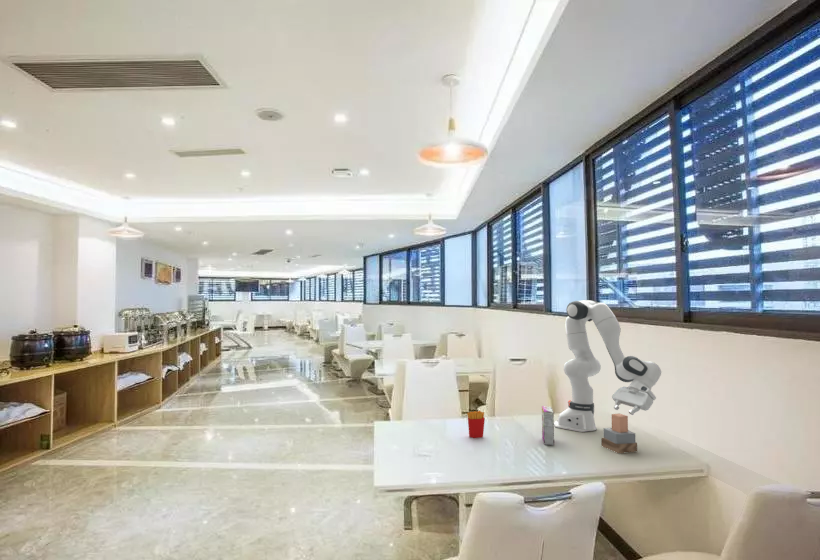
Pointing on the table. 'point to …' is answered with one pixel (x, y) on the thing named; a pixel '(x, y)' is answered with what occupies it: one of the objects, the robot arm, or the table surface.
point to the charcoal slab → (619, 436)
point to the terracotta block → (620, 423)
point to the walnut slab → (619, 446)
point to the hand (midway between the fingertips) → (622, 411)
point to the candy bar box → (547, 425)
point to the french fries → (476, 424)
